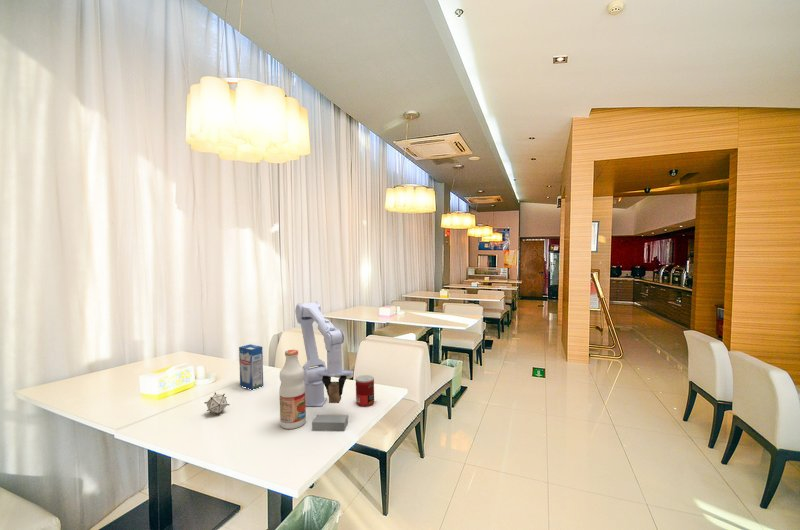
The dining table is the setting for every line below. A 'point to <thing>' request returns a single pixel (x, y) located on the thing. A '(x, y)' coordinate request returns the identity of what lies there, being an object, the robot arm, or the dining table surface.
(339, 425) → the gray rectangular block
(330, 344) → the robot arm
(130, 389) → the dining table surface
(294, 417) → the fruit juice
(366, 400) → the canned food
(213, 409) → the grey spiked polyhedron
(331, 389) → the walnut block
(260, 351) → the milk carton
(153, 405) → the dining table surface
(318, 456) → the dining table surface
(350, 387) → the dining table surface
